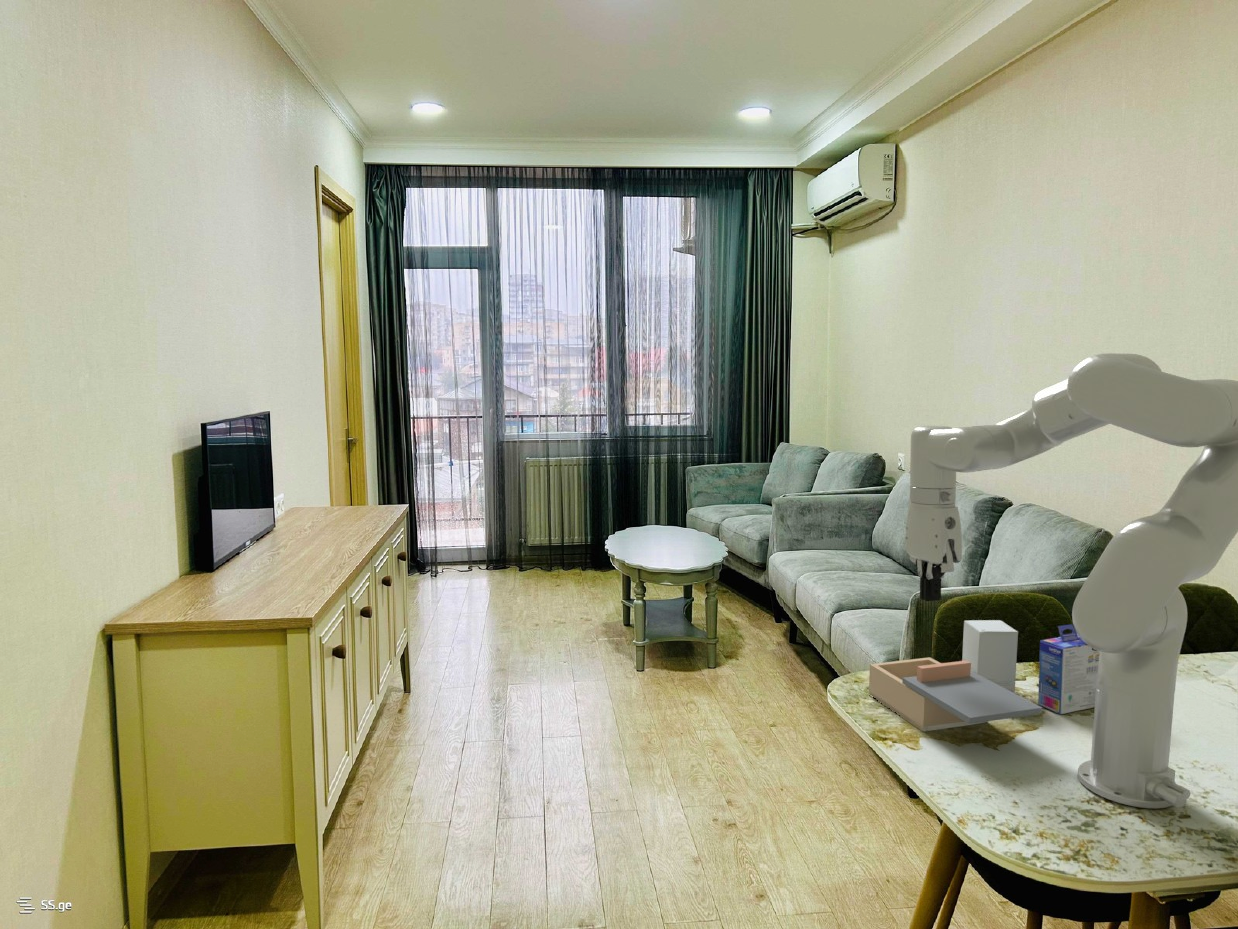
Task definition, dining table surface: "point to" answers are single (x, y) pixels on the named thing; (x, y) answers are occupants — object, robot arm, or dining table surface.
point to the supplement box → (991, 651)
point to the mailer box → (909, 695)
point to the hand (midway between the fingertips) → (930, 599)
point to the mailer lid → (968, 693)
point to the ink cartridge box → (1067, 673)
